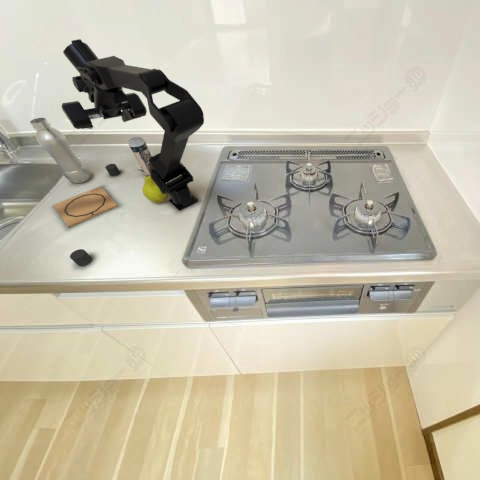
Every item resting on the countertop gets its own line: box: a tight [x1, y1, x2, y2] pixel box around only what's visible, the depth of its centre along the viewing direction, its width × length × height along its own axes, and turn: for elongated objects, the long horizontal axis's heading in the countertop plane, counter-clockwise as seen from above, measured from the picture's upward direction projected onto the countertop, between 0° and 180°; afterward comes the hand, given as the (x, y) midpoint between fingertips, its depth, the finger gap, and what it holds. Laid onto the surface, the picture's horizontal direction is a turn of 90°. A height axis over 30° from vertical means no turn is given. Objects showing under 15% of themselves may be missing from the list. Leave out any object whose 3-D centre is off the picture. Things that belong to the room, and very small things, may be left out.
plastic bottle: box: [29, 117, 91, 184], centre depth 85 cm, size 6×7×20 cm
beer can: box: [128, 136, 153, 176], centre depth 92 cm, size 5×5×12 cm
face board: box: [53, 185, 118, 229], centre depth 83 cm, size 13×13×1 cm
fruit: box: [137, 168, 169, 204], centre depth 82 cm, size 7×7×12 cm
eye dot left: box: [69, 248, 93, 268], centre depth 69 cm, size 3×3×3 cm
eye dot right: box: [104, 163, 121, 177], centre depth 94 cm, size 3×3×3 cm
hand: (107, 123), depth 84 cm, fingers open, 9 cm apart
